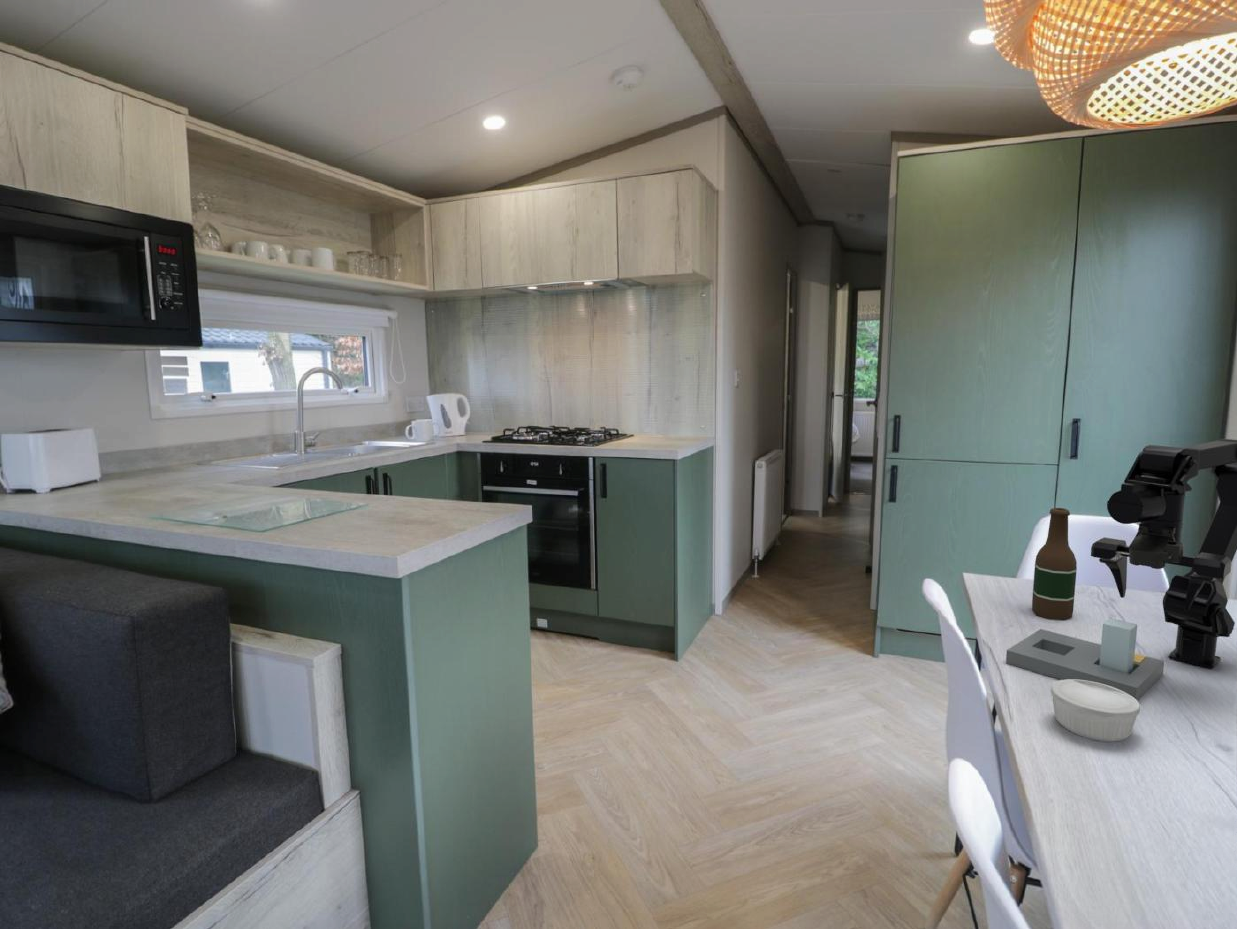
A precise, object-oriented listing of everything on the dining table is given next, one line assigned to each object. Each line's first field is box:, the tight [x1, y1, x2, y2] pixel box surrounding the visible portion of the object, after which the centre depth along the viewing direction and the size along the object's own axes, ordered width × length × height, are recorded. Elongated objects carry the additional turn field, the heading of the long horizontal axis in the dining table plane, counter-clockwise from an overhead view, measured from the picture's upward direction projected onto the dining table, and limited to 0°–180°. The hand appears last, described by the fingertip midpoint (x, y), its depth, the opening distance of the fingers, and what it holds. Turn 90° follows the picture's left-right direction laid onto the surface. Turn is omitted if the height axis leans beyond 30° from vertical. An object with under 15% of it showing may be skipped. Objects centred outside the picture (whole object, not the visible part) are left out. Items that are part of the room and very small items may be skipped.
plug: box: [1099, 618, 1138, 674], centre depth 120 cm, size 4×4×10 cm
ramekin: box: [1050, 679, 1141, 743], centre depth 105 cm, size 11×11×5 cm
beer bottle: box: [1031, 507, 1078, 621], centre depth 150 cm, size 8×8×24 cm
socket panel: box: [1005, 628, 1165, 701], centre depth 125 cm, size 16×20×3 cm
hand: (1153, 603), depth 121 cm, fingers open, 9 cm apart
